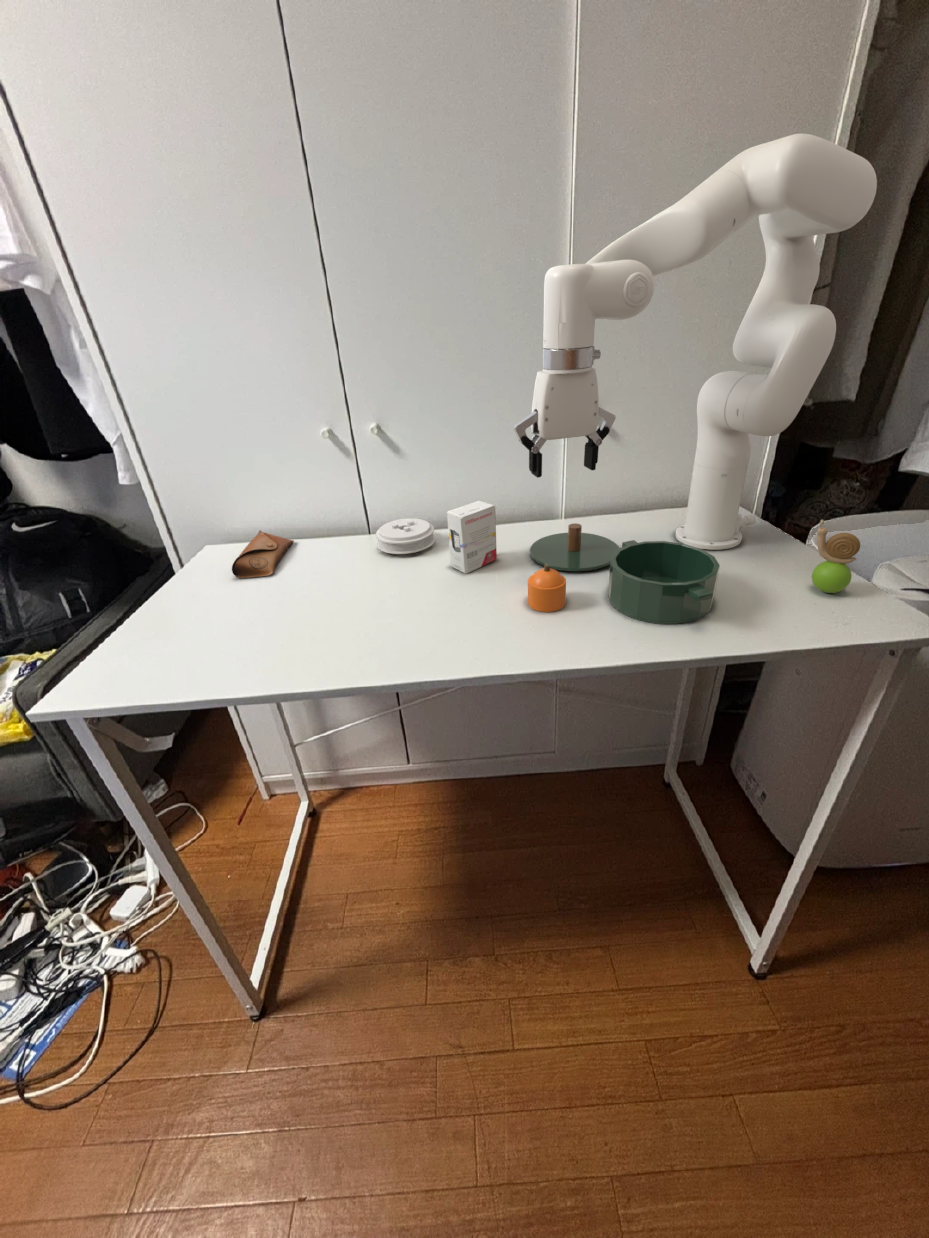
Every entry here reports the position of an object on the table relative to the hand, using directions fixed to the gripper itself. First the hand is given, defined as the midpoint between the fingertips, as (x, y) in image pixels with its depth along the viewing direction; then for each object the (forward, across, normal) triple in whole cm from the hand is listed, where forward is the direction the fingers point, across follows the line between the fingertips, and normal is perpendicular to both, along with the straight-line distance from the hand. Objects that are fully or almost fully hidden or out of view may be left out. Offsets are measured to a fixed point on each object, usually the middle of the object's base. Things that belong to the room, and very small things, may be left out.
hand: (563, 471), depth 92 cm
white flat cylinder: (+20, +25, -26) cm, 41 cm away
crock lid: (+19, -7, -8) cm, 22 cm away
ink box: (+20, +13, -11) cm, 27 cm away
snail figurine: (+19, -38, +21) cm, 48 cm away
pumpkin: (+20, +6, +8) cm, 22 cm away
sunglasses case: (+21, +55, -32) cm, 67 cm away
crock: (+20, -12, +14) cm, 27 cm away
